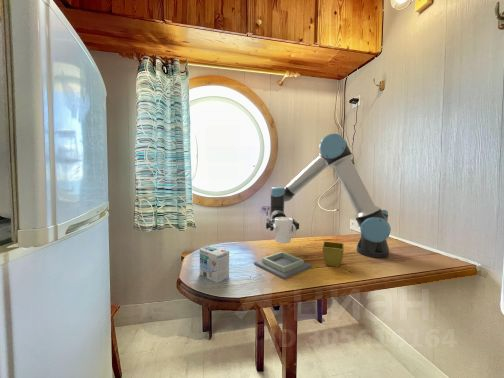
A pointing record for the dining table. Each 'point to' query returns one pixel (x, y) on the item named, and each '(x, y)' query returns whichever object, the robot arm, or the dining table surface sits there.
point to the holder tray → (283, 264)
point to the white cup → (283, 229)
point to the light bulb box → (214, 263)
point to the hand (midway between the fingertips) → (285, 230)
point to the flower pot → (333, 253)
